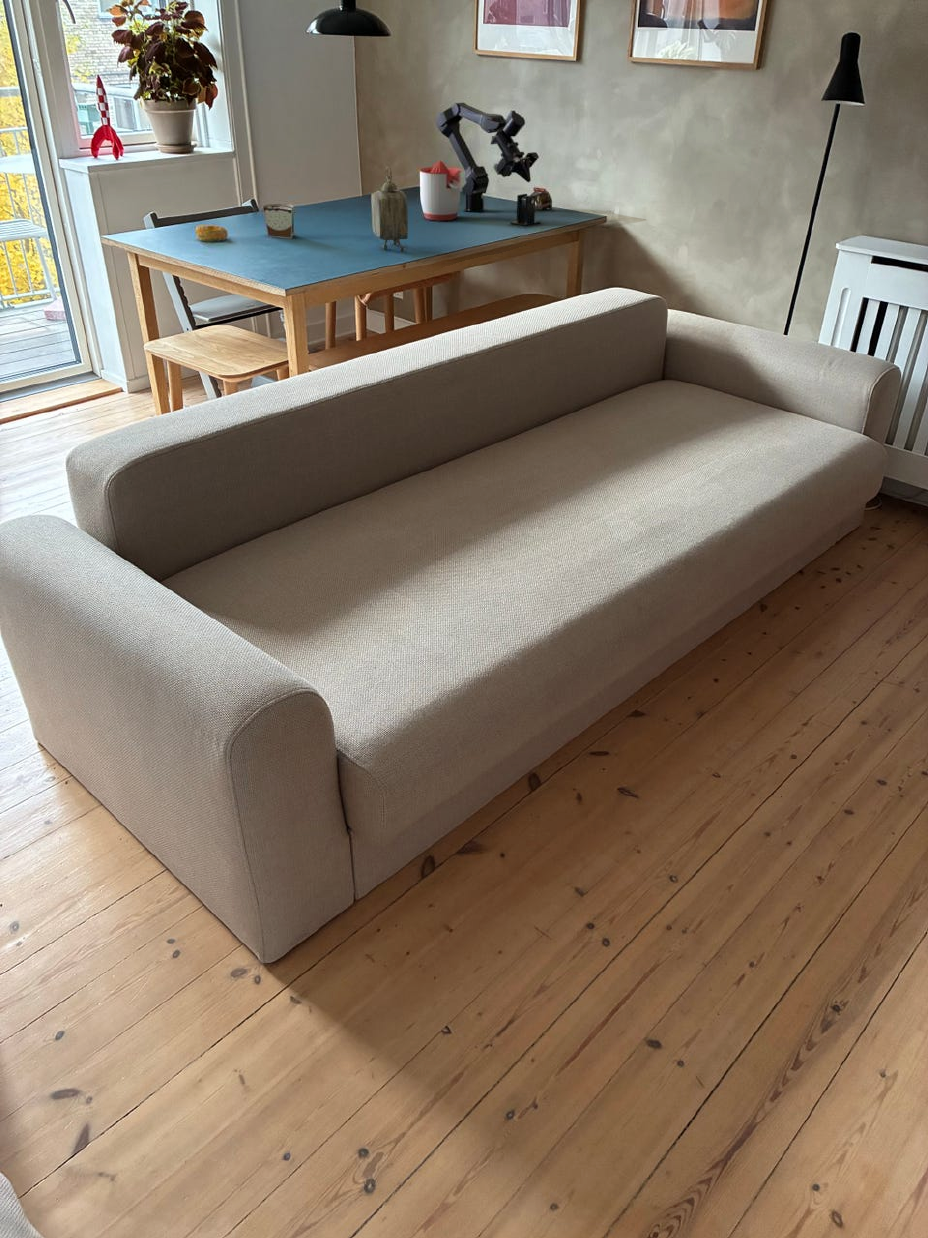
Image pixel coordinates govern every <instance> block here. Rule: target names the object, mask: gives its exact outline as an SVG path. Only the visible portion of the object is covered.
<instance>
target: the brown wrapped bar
mask: <svg viewBox="0 0 928 1238" xmlns="http://www.w3.org/2000/svg"><path fill="white" fill-rule="evenodd" d="M532 190H533V191H532V193H530V194H529V195H528V194H527V195H525V196H524V197H523V198H522V199H521V201H522V205H525V206H526V196H531V195H537V194H538V193H541V192H543V193H545V192H546V191H547V189H546V188H544V187H543V188H542V187H536V186H534V187H533V188H532Z"/></svg>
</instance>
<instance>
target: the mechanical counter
mask: <svg viewBox="0 0 928 1238" xmlns="http://www.w3.org/2000/svg"><path fill="white" fill-rule="evenodd" d="M548 209H549V210H551V211H553V199H552V196H551V194H550V191H548V190H546V192H545V193H543V192H540V193H538V194H537V195H536V197H535V210H541V211H545V210H548Z"/></svg>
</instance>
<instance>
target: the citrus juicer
mask: <svg viewBox="0 0 928 1238" xmlns="http://www.w3.org/2000/svg"><path fill="white" fill-rule="evenodd" d="M418 171H419V192H420V203H421V208H422V213H423V215H424V218H425V219H427V220H432V221H436V222H442V221H450V220H455V219H456V218H457V215H458V212H459V207H460V204H461V203H460V202H461V172H462V169H460V168H457V167H449V166H446V165H445V164H444V162H443V161H442V160H438V162H436V163H435V165H434V166H430V167H429V166H428V167H422V168H420V169H419V170H418Z"/></svg>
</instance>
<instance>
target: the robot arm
mask: <svg viewBox="0 0 928 1238" xmlns="http://www.w3.org/2000/svg"><path fill="white" fill-rule="evenodd" d="M463 119H466V120H468V121H470V122H473V123H475V124H477V125H479V126H480V128H481V129H482V131H484V132H485V133H486V134H493V133H494V135H492V136H491V140H490V145H497V147H498V148H499V150H500V151H501V153H500V157H501V159H500V160H499V161H498V162H497V163H495V164H493V170H494V172H495V173H496V175H497V176H502V177H503V178H506V177H510V176H511V175H512V174H516V175H518V176H519V177H521V178H522V179H523V180H524V181H526V183H530V182H531V180H532V177H531V170H530V169H531V167H533V165H534V164H535V163H536V162H537V160H538V159H540V156H539V154H538V153H537V151H532V152H527V154H526V155H525V152H524V151H521V150H520V149H519V147H518V146H519V145H520V143H519V142H518V141H516V142H515V140H514V139H513V137H517V135H519V132H521V130H522V129H523V127H524V126H525V125H526V120H525V118H524V117H523V116H522V115H521V114H519V113H517V112H516V110H510V111H509V113H508V115H507V116H506V118H504V116H503V115H502V114H497V113H488V112H487V113H486V112H484V111H482V110H480V109H477V108H476V107H473V106H471V105H469V104H466V102H455V103H454V104H452V106H450V107H449V108H447V109H446V110H444V111H442V112H439V113H438V114H437V116H436V119H435V125H436V128H437V129H438V130H439V132H440V133H441V134H442V135H444V137H446V138H447V139H448V140H449V142H450V144H451V147H452V148H453V150H454V152H455V154H456V156H457V158H458V160H459V162H460V164H461V166H462V168H463V170H464V180H465V183H464V185H463V186H462V187H461V192H462V195H465V209H464V212H466V213H467V212H469V213H482V212H483V210H484V209H485V198H484V194H486V193H487V191H488V187H489V183H490V179H489V173H487V170H486V168H485V166H484V165H481V166H478V164H477V163H476V161H475V159H474V157H473V155H472V153H471V151H470V149H469V147H468V145H467V144H466V141H465V139H464V137H463V136H462V134H461V123H460V122H461V121H462V120H463ZM524 155H525V156H524Z"/></svg>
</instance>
